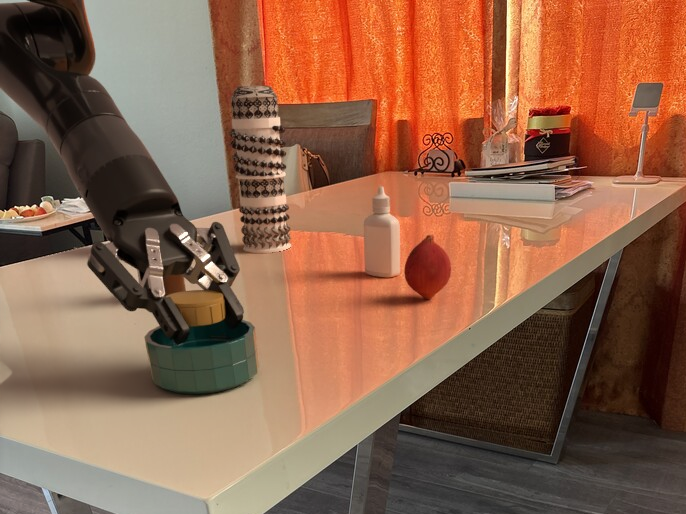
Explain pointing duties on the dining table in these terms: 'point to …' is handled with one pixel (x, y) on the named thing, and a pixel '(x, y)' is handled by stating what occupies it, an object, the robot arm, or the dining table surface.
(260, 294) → the dining table surface
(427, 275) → the onion
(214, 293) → the lid
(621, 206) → the dining table surface
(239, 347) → the bowl
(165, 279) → the jar
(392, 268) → the eye dropper bottle
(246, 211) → the decorative candle
